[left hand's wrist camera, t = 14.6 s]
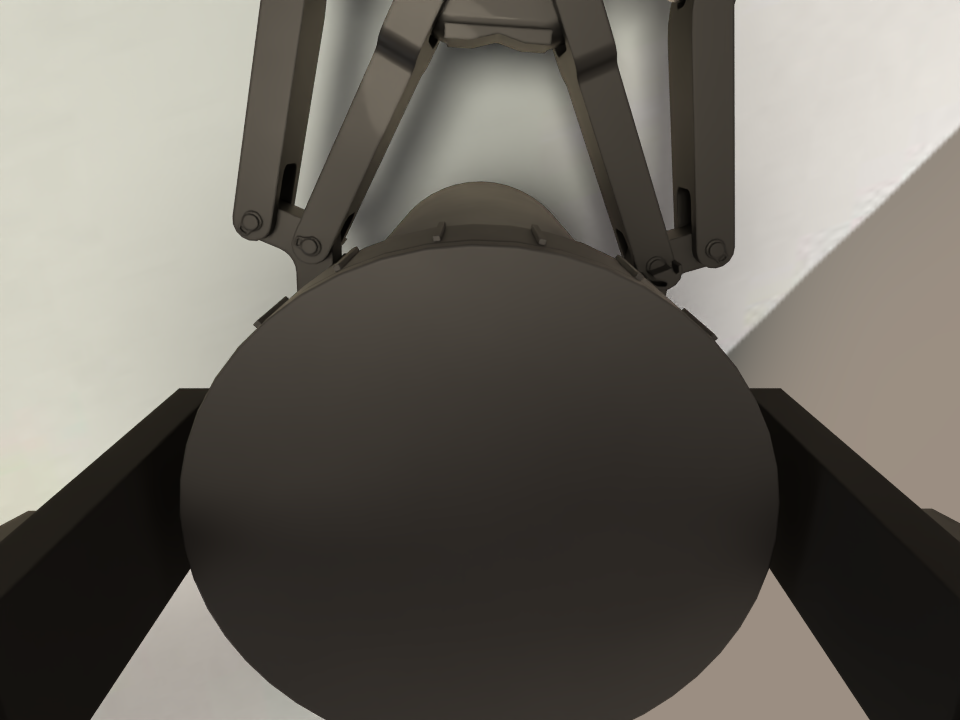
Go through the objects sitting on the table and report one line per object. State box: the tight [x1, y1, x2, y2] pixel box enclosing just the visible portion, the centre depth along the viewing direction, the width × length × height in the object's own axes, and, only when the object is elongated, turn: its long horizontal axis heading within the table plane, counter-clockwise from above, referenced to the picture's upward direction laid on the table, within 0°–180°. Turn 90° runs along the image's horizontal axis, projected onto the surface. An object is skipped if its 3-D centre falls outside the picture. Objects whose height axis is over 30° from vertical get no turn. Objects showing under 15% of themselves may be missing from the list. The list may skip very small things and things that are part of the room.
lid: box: [180, 221, 780, 720], centre depth 11 cm, size 10×10×2 cm
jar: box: [386, 182, 575, 241], centre depth 19 cm, size 8×8×18 cm
